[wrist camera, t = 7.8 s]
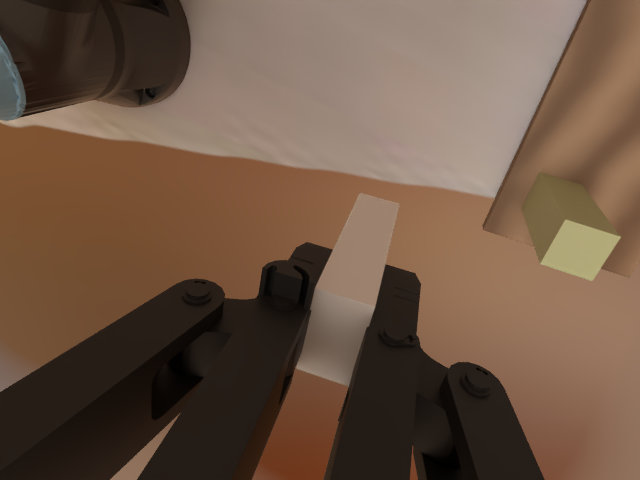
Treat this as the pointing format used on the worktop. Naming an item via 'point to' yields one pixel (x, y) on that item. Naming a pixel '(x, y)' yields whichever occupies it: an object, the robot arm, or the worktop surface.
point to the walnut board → (587, 130)
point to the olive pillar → (568, 227)
